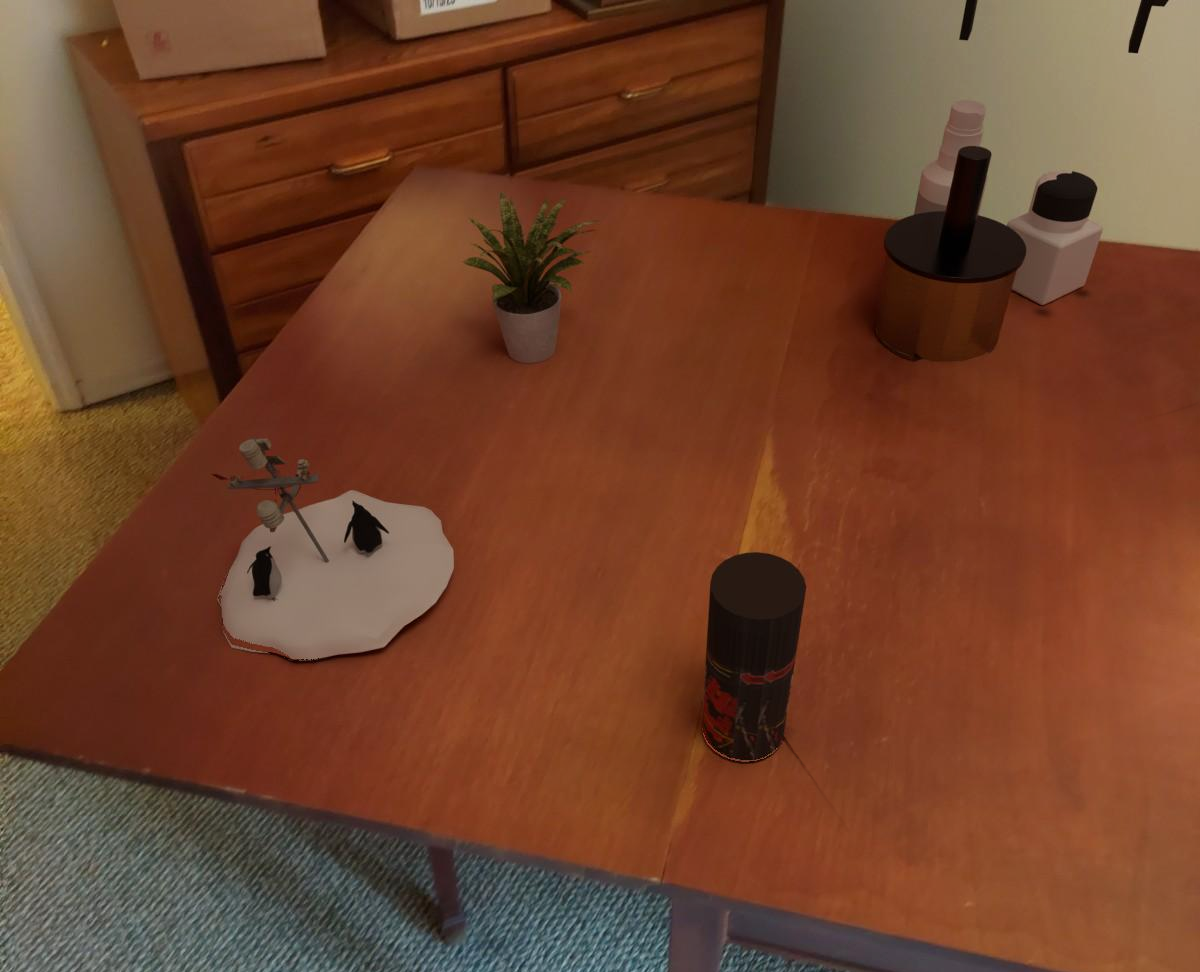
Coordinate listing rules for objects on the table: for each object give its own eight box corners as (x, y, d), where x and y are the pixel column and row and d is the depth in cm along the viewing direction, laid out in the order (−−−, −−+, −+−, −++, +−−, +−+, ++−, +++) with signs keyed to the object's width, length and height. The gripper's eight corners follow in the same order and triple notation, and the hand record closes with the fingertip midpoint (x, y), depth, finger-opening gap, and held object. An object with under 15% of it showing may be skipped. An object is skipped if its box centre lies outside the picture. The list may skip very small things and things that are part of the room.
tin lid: (1053, 268, 103) (1084, 165, 96) (937, 302, 100) (960, 197, 92) (965, 211, 112) (987, 112, 105) (856, 240, 108) (871, 139, 101)
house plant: (571, 406, 105) (561, 253, 93) (444, 383, 109) (419, 233, 97) (616, 330, 114) (612, 183, 103) (497, 312, 118) (481, 167, 106)
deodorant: (794, 756, 75) (818, 612, 64) (712, 769, 75) (723, 626, 64) (771, 692, 79) (790, 546, 69) (693, 704, 79) (700, 559, 68)
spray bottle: (919, 247, 125) (950, 88, 112) (974, 263, 122) (1013, 101, 109) (894, 272, 121) (923, 111, 108) (951, 289, 118) (988, 125, 105)
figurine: (447, 486, 95) (398, 332, 83) (465, 636, 83) (410, 481, 71) (228, 533, 95) (148, 385, 83) (214, 691, 83) (116, 545, 71)
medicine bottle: (1085, 286, 118) (1120, 181, 109) (1042, 307, 115) (1074, 200, 106) (1033, 261, 122) (1063, 157, 113) (990, 280, 119) (1018, 175, 111)
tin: (1022, 346, 110) (1047, 262, 103) (921, 378, 107) (940, 293, 100) (947, 290, 118) (966, 208, 111) (851, 318, 115) (864, 235, 108)
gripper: (937, -273, 76) (892, 44, 91) (1327, -274, 69) (1208, 69, 84) (951, -287, 81) (906, 16, 96) (1317, -290, 74) (1207, 37, 89)
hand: (1047, 41), depth 90 cm, fingers open, 13 cm apart
